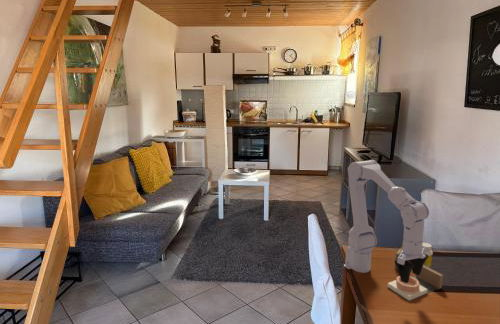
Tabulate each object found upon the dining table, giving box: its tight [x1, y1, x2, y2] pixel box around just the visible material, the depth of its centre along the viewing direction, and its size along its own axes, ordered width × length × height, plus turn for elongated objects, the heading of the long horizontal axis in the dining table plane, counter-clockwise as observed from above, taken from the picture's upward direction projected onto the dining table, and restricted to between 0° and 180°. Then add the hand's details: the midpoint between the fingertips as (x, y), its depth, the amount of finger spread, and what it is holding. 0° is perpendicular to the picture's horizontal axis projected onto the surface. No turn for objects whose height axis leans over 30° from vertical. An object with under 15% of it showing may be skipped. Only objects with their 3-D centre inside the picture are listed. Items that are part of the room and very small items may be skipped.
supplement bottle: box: [422, 242, 434, 269], centre depth 135 cm, size 5×5×10 cm
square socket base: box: [387, 275, 428, 301], centre depth 119 cm, size 9×9×4 cm
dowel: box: [394, 252, 401, 272], centre depth 132 cm, size 4×4×7 cm
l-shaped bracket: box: [386, 265, 444, 302], centre depth 120 cm, size 10×17×6 cm, turn 117°
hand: (410, 277), depth 112 cm, fingers open, 7 cm apart
